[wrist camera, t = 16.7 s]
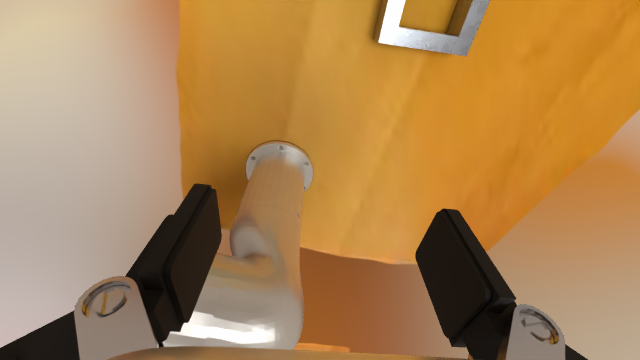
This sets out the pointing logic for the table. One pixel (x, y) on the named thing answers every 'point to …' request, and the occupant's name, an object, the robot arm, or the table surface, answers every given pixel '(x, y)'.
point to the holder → (452, 42)
